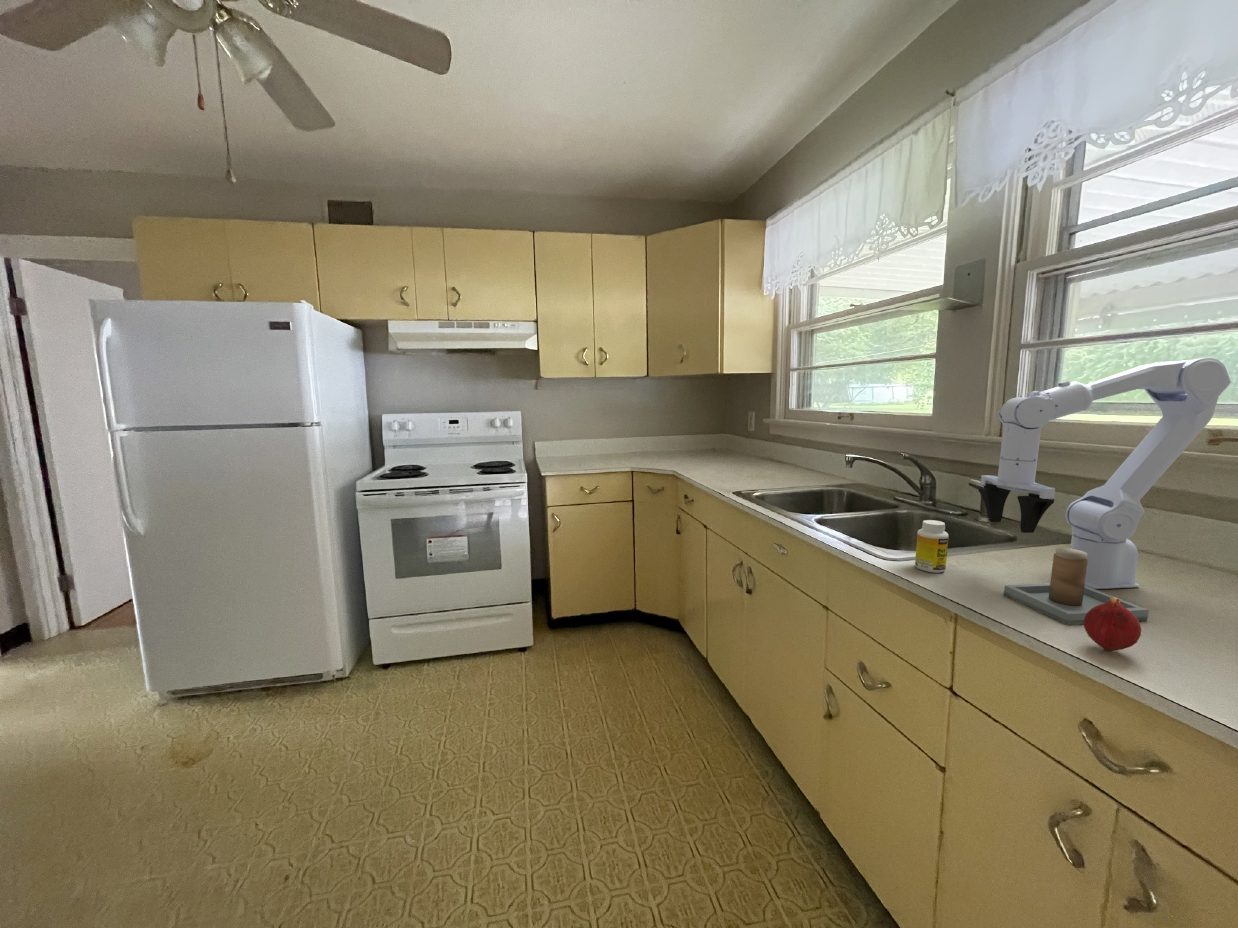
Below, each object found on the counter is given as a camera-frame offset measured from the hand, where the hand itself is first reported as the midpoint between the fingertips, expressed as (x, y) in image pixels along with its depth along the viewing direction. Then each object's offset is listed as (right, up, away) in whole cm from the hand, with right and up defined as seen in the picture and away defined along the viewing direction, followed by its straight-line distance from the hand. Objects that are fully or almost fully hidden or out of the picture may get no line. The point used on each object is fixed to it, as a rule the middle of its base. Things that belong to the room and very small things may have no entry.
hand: (1010, 526), depth 98 cm
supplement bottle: (-12, -10, +6) cm, 17 cm away
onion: (-7, -15, -27) cm, 31 cm away
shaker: (0, -12, -12) cm, 16 cm away
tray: (+1, -12, -13) cm, 18 cm away
